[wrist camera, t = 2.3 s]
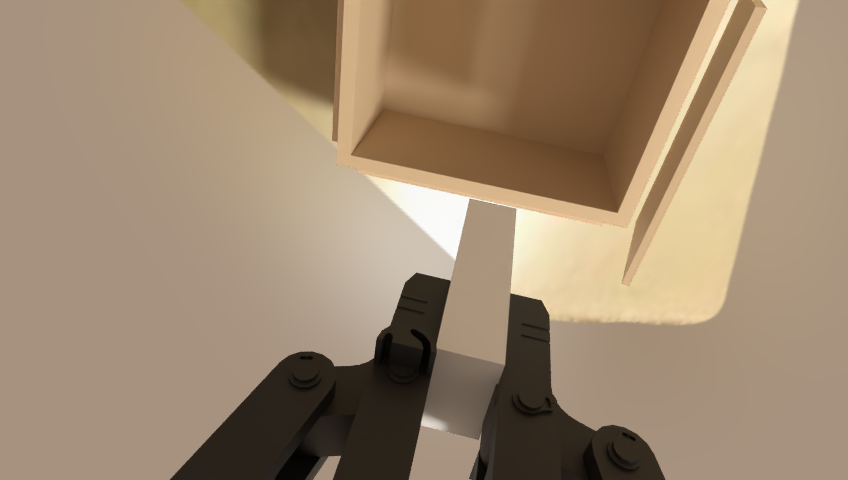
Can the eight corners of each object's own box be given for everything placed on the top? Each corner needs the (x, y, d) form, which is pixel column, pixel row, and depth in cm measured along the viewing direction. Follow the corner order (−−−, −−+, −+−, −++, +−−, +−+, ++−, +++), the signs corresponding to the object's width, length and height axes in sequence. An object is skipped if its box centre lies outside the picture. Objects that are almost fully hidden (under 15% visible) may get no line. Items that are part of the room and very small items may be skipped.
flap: (621, 283, 27) (630, 286, 27) (755, 6, 19) (768, 9, 19) (636, 221, 33) (643, 223, 33) (744, -13, 25) (754, -11, 25)
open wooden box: (365, 120, 45) (328, 170, 37) (385, -129, 35) (339, -137, 27) (607, 171, 44) (623, 235, 36) (704, -73, 33) (758, -63, 25)
